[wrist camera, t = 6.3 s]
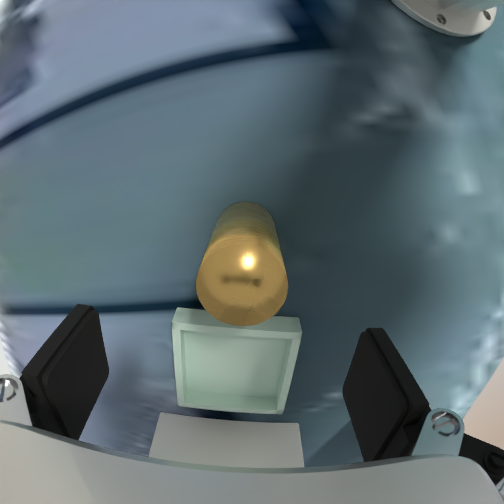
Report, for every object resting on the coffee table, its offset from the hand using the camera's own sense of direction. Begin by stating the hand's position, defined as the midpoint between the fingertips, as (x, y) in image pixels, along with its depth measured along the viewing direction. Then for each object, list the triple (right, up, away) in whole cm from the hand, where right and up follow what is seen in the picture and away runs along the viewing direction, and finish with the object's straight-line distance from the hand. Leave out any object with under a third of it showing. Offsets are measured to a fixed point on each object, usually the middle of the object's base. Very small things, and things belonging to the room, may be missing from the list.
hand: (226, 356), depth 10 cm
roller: (0, +5, +11) cm, 12 cm away
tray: (-1, -5, +15) cm, 16 cm away
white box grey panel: (-2, -16, +19) cm, 25 cm away
